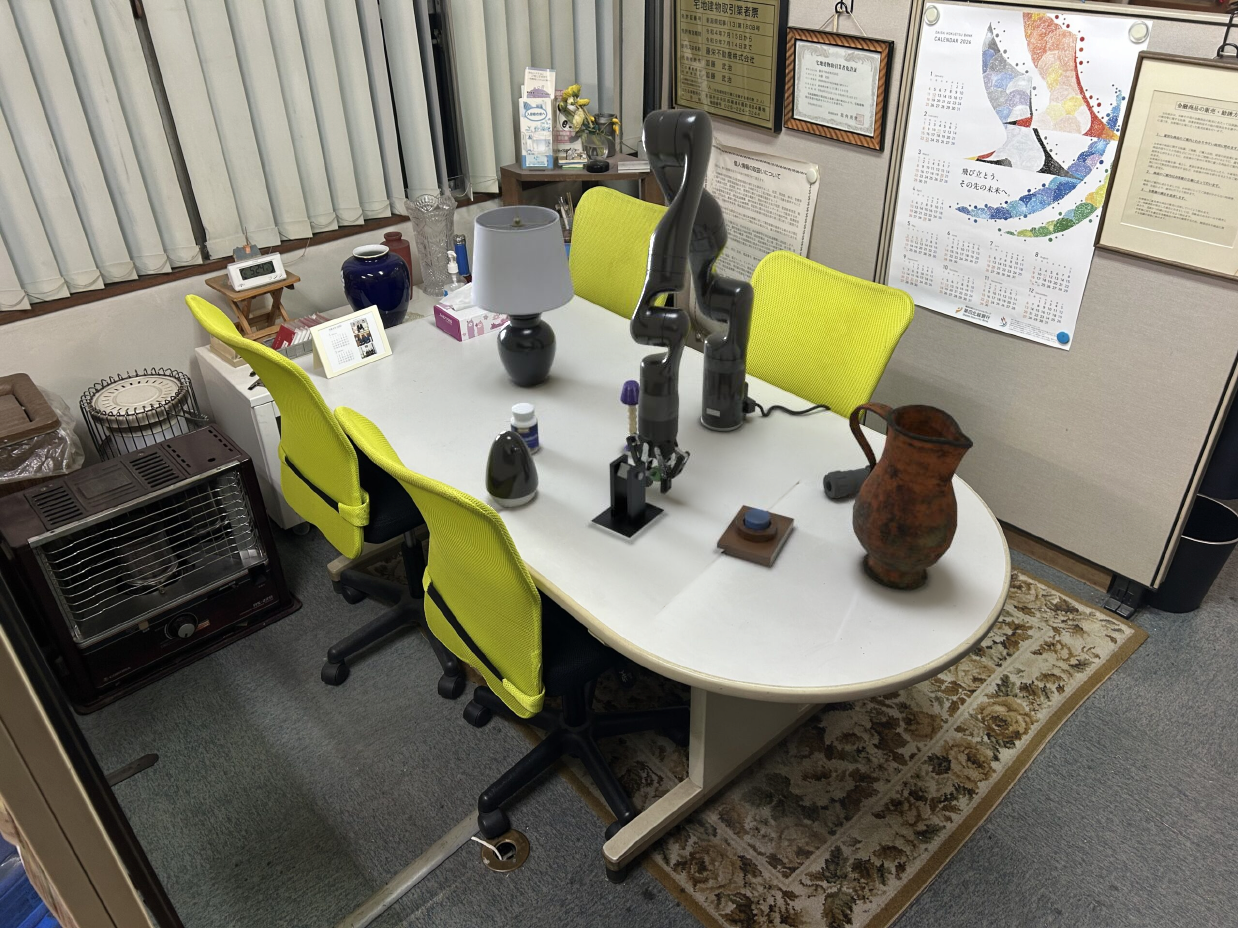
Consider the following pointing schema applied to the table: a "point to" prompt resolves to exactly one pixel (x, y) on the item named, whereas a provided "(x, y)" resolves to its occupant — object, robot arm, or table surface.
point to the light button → (757, 519)
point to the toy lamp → (631, 404)
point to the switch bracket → (627, 500)
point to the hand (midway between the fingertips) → (656, 488)
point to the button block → (755, 538)
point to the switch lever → (653, 473)
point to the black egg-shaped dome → (510, 471)
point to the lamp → (521, 284)
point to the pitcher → (908, 493)
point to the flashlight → (844, 482)
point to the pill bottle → (526, 425)
